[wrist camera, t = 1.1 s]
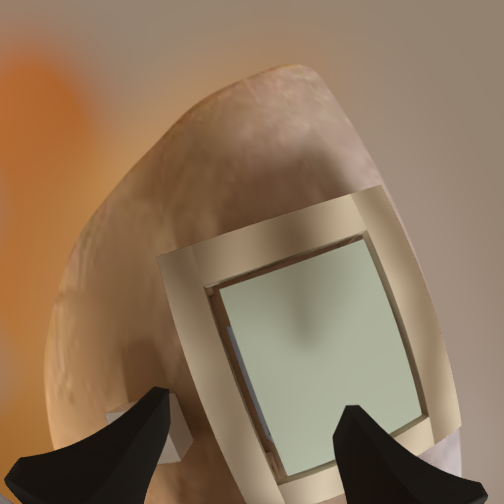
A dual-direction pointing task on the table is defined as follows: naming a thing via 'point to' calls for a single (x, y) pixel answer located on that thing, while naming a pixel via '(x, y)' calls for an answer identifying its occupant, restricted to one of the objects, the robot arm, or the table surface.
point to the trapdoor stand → (277, 251)
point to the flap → (319, 352)
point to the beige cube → (177, 434)
